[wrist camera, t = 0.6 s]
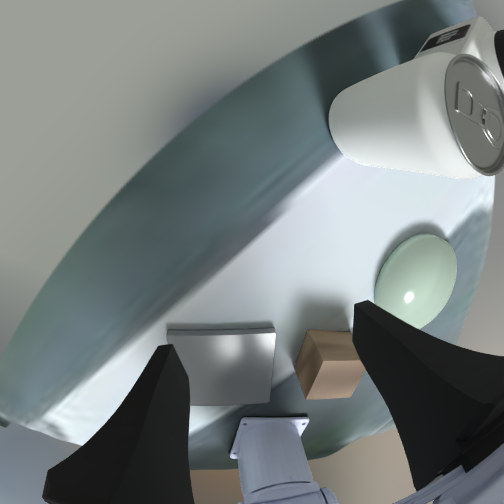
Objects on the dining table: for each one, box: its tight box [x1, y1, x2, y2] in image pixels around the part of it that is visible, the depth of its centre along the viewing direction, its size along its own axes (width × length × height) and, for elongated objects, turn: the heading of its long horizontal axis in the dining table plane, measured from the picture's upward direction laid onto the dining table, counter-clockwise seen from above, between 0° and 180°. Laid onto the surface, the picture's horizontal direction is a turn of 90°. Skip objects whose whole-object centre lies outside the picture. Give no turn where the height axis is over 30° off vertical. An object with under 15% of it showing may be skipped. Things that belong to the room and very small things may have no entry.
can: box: [329, 52, 504, 180], centre depth 13 cm, size 6×6×12 cm
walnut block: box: [294, 330, 366, 400], centre depth 23 cm, size 4×4×4 cm
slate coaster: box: [167, 328, 276, 406], centre depth 24 cm, size 9×9×1 cm
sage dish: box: [374, 233, 457, 329], centre depth 23 cm, size 10×10×1 cm
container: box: [414, 17, 504, 91], centre depth 12 cm, size 8×8×13 cm
